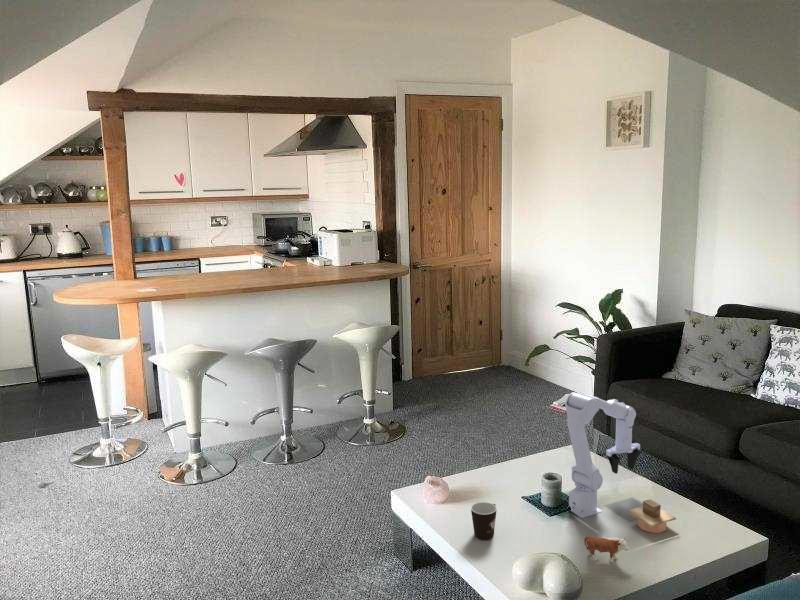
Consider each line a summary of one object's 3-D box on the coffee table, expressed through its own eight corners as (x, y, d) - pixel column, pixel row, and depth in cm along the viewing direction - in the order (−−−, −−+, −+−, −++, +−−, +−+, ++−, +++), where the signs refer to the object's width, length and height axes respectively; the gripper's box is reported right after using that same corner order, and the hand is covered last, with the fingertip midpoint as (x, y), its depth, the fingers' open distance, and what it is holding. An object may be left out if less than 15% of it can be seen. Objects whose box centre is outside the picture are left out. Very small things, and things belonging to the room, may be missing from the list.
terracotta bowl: (651, 536, 224) (652, 525, 223) (632, 524, 232) (632, 513, 231) (672, 530, 227) (672, 519, 227) (652, 518, 235) (652, 508, 235)
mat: (629, 522, 233) (629, 521, 233) (603, 506, 245) (603, 505, 245) (657, 513, 238) (657, 512, 238) (631, 498, 250) (631, 497, 250)
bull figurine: (628, 567, 207) (628, 543, 205) (583, 559, 212) (583, 535, 211) (629, 560, 211) (630, 536, 209) (585, 552, 216) (585, 528, 215)
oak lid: (650, 526, 222) (651, 513, 222) (627, 512, 232) (627, 499, 232) (675, 519, 227) (676, 506, 226) (651, 505, 237) (652, 492, 236)
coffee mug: (480, 544, 222) (480, 516, 220) (466, 533, 230) (465, 506, 228) (509, 535, 227) (509, 507, 226) (494, 524, 235) (494, 497, 233)
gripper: (615, 443, 243) (614, 478, 246) (646, 436, 249) (645, 470, 252) (602, 436, 250) (601, 471, 252) (633, 429, 255) (631, 463, 258)
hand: (622, 470), depth 252 cm, fingers open, 7 cm apart
